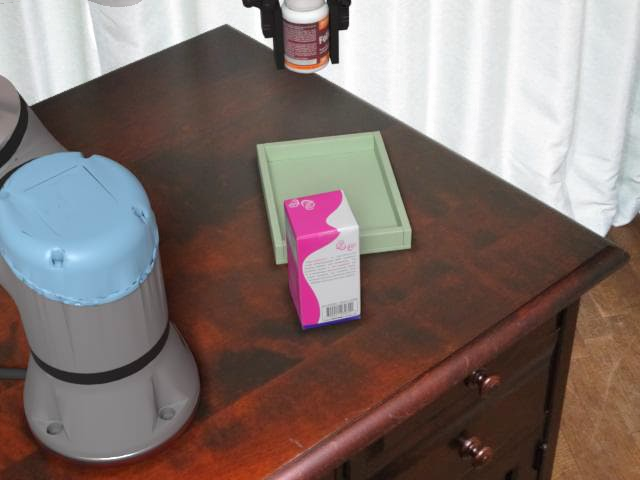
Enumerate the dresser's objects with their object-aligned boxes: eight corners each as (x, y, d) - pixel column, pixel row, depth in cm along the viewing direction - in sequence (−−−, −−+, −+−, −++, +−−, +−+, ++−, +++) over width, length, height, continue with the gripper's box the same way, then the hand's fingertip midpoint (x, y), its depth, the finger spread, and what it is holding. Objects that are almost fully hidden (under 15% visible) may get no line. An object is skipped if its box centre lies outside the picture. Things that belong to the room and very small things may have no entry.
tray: (276, 264, 114) (275, 246, 112) (257, 162, 126) (256, 144, 124) (411, 248, 115) (411, 229, 113) (379, 148, 127) (379, 130, 126)
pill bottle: (329, 74, 114) (328, 0, 108) (281, 75, 114) (278, 0, 108) (329, 48, 117) (329, -26, 112) (283, 48, 117) (280, -25, 112)
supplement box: (345, 277, 112) (344, 186, 104) (361, 319, 108) (362, 228, 100) (287, 288, 111) (282, 197, 103) (301, 331, 107) (297, 240, 99)
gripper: (390, -193, 104) (385, 30, 119) (193, -177, 102) (214, 48, 117) (408, -159, 98) (401, 70, 114) (200, -141, 96) (221, 90, 112)
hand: (306, 59), depth 115 cm, fingers closed on pill bottle, 5 cm apart
